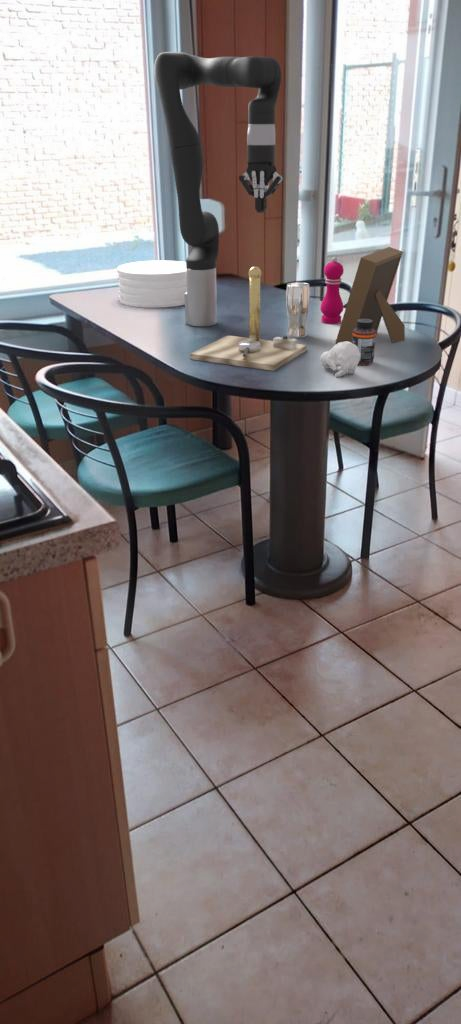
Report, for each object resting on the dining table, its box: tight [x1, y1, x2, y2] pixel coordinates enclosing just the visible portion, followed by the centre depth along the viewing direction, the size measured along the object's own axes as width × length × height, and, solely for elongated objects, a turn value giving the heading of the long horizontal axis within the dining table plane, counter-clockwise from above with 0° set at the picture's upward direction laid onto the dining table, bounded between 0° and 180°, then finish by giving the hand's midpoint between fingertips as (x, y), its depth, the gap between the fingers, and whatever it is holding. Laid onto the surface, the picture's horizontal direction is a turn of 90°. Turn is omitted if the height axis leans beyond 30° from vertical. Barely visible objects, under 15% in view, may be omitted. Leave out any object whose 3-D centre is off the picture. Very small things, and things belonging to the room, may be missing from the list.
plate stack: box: [116, 260, 187, 309], centre depth 279 cm, size 28×28×12 cm
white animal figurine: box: [319, 341, 361, 378], centre depth 197 cm, size 6×8×12 cm
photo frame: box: [335, 246, 406, 345], centre depth 220 cm, size 15×22×25 cm
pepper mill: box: [320, 256, 344, 325], centre depth 243 cm, size 7×7×20 cm
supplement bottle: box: [352, 319, 377, 366], centre depth 204 cm, size 6×6×11 cm
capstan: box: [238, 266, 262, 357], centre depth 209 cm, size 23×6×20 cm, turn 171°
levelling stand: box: [189, 335, 308, 372], centre depth 213 cm, size 25×22×5 cm
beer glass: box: [285, 281, 311, 339], centre depth 229 cm, size 7×7×15 cm
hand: (260, 212), depth 215 cm, fingers closed
